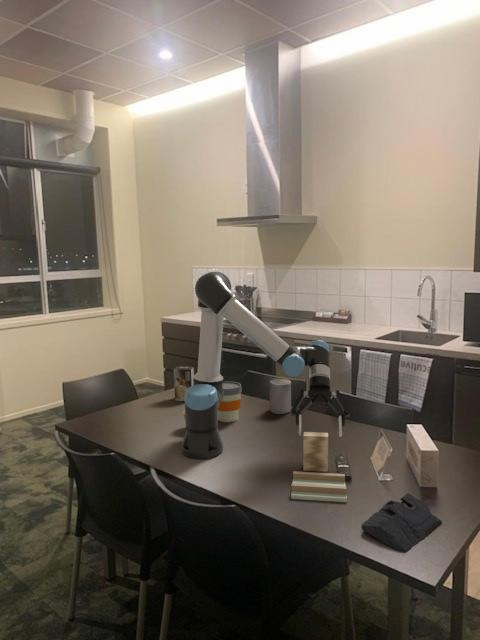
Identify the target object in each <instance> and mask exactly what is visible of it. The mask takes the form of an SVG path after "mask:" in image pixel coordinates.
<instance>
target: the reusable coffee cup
mask: <svg viewBox="0 0 480 640" xmlns="http://www.w3.org/2000/svg"><path fill="white" fill-rule="evenodd" d="M242 389H243V388H242V384H241V383H240V382H238V381H237V382H236V381H229V380H228V381H227V380H226V381H223V391H224V395H223V399H222V401H221V403H220V405H219V408H218V412H217V414H218V422H222V423H231V422H236V421H238V420H239V414H240V413H239V412H240V408H241V402H242V396H241V395H242V392H243V390H242Z"/></svg>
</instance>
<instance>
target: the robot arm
mask: <svg viewBox="0 0 480 640" xmlns="http://www.w3.org/2000/svg"><path fill="white" fill-rule="evenodd" d="M194 292H195V296H196V298H197V308H198V309H199V310H200V311H201V313H200V314H201V315H200V328H199V330H200V331H199V334H200V335H199V346H198V358H197V372H196V373H194V376H193V386H191V387H189V388H188V389H187V390H186V392H185V397H184V401H183V402H184V411H185V418H184V420H185V419H186V421H185V433H184V436H183V440H182V442H181V453H182V455H184V457H187V458H191V459H198V460H199V459H200V460H201V459H203V460H204V459H205V460H206V459H211V458H214V457H216V456H217V457H218V456H219V455H221V454H222V453H223V450H224V444H223V443H224V442H223V440H222V437H221V434H220V431H219V427H218V426H219V425H218V424H219V420H218V414H217V412H218V408H219V405H220V403H221V401H222V399H223V395H224V391H223V382H224V376H222V374H221V360H222V359H221V358H222V347H223V346H222V345H223V331H224V321H225V320H226V321H228V322H229V323H230V324H231V325H233V327H235V328H236V329H237V330H238V331H239V332H241V333H242V334H243V335H245V337H247V339H248V340H250V341H251V342H252V343H254V344H255V346H257V347H258V348H259V349H260V350H262V351H263V352H264V353H265V354H266V355H267V356H269V358H271V359H272V360H273V361H274V362H275V363H277V364H278V365H279V366H280V367H281V368H282V370H283V371H284V373H285V374H286V375H287V376H289V377H297V376H298V377H299V376H301V374H302V373H303V372H304V369H305V367H308V368H309V369H308V370H309V371H308V375H309V376H308V378H309V380H308V383H309V384H308V387H309V388H308V391H307V390H305V389H300V391H299V392H300V393H299V396H298V397H297V398H296V401H295V403H294V404H293V406H292V407H291V412H290V415H291V416H294V417H295V425H296V426H298V436H302V415H303V414H304V412H305V411H307V409H308V408H309V407H310V406H311V405H313V404H315V405H319V404H321V405H324V404H327V405H328V406H329V407H330V408H331V409H332V410H333V412H335V413H336V415H338V435H339V436H338V437H339V438H340V437H343V428H344V427H345V426H346V421H345V420H346V418H350V414H351V412H350V410H349V408H348V407H347V405H346V403H345V402H344V400H343V398H342V397H341V395H340V394H341V393H340V390H338V389H336V391H332V390H331V366H330V365H331V363H330V362H331V360H330V346H329V344H328V342H326V341H324V340H320V339H316V340H313V341H311V342H310V343H309V346H303V345H290V344H288V343H287V342H286V341H285V340H284V339H282V338H281V337H280V336H279V335H278V334H277V333H276V332H274V330H272V329H271V328H269V326H267V325H266V324H265V323H264V322H263V321H262V320H261V319H260V318H258V317H257V316H256V315H255V314H254V313H253V312H251V311H250V310H249V309H248V308H247V307H246V306H244V305H243V304H242V303H241V302H240V301H239V300H238V299H237V298H236V294H235V293H234V292H233V291H232V284H231V281H230V279H229V277H228V276H227V275H226V274H224V273H223V272H220V271H209V272H207V273H204V274H202V275H201V276H199V278H198V279H197V281H196V282H195V284H194ZM224 319H225V320H224ZM307 396H308V399H307V400H306V401H305V402H304V403H303V404H302V402H303V400H304V398H306V397H307ZM332 396H333V397H334V399H336V401H337V403H338V405H339V406H338V405H337V404H336V403H335V402H334V401H333V399H332V398H331V397H332ZM301 404H302V405H301ZM300 406H301V407H300ZM299 407H300V408H299Z"/></svg>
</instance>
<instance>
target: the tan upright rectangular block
mask: <svg viewBox="0 0 480 640" xmlns="http://www.w3.org/2000/svg"><path fill="white" fill-rule="evenodd" d="M302 439H303V442H302V443H303V444H302V445H303V446H302V447H303V448H302V449H303V450H302V451H303V458H302V459H303V460H302V463H303V464H302V466H303V471H304V472H322V473H329V472H328V471H329V433H328V432H317V431H316V432H315V431H303V438H302Z"/></svg>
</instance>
